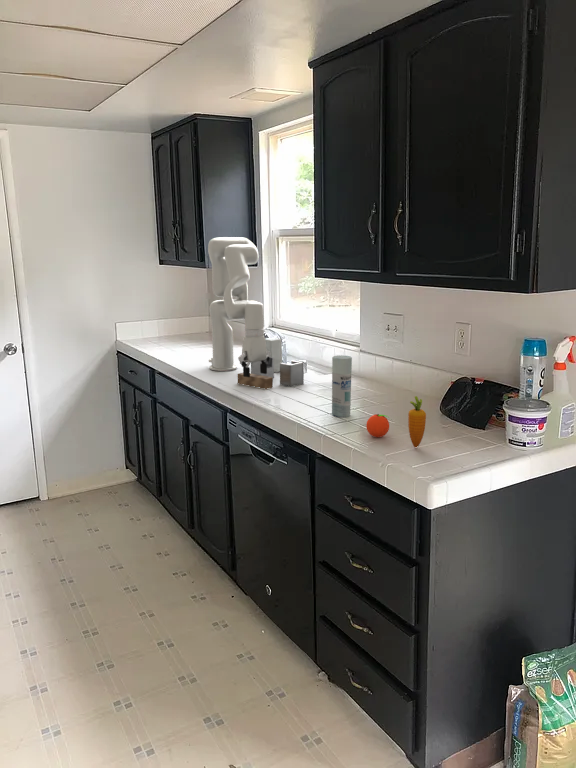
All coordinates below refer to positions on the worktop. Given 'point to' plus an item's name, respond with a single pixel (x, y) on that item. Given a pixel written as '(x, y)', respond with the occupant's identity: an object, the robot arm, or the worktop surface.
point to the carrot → (416, 422)
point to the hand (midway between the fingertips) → (255, 375)
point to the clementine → (377, 425)
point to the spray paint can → (341, 385)
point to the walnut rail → (256, 380)
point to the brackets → (282, 372)
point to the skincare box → (275, 351)
